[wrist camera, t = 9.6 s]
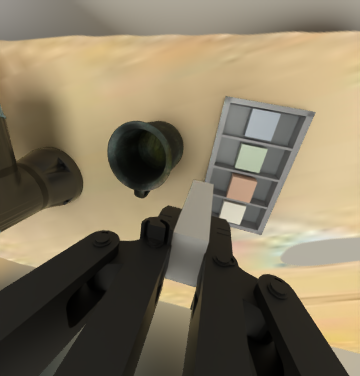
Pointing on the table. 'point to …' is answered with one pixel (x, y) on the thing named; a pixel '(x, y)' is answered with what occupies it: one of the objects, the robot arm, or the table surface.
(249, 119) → the key slate
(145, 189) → the mug
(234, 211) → the key ivory
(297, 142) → the grey compartment rack
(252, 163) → the key sage
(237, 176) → the block
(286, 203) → the table surface
